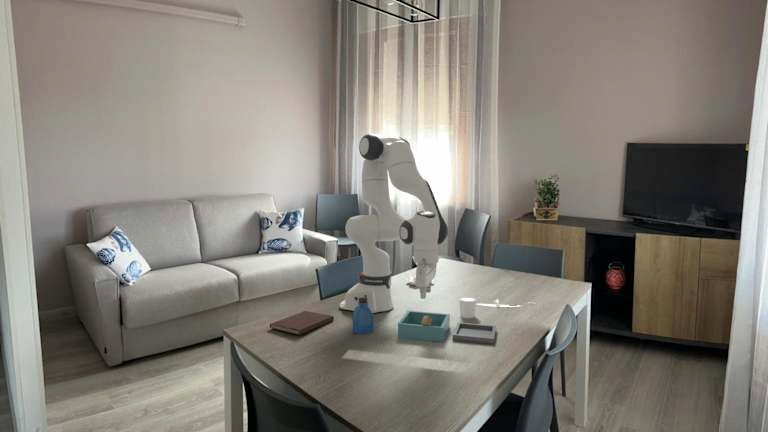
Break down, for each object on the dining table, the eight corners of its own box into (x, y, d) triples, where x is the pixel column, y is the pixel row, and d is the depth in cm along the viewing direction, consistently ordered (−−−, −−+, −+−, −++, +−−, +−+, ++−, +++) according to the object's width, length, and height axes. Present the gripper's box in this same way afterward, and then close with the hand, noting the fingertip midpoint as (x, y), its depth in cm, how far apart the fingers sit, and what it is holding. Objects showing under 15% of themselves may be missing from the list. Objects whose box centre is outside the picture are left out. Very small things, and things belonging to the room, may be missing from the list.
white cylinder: (475, 319, 201) (476, 302, 200) (458, 318, 203) (458, 300, 202) (476, 314, 208) (476, 297, 207) (459, 312, 209) (459, 296, 209)
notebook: (269, 327, 192) (269, 322, 192) (304, 314, 209) (304, 309, 208) (299, 335, 184) (299, 329, 184) (333, 320, 200) (333, 315, 200)
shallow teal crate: (397, 337, 181) (397, 323, 180) (407, 323, 196) (407, 310, 195) (442, 342, 176) (443, 327, 176) (449, 327, 192) (449, 314, 191)
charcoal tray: (452, 340, 178) (452, 334, 178) (457, 327, 192) (457, 322, 191) (493, 344, 174) (493, 338, 174) (495, 331, 188) (496, 325, 188)
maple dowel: (419, 331, 185) (421, 322, 178) (421, 323, 187) (423, 314, 179) (427, 334, 185) (430, 325, 177) (430, 326, 187) (432, 317, 179)
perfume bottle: (356, 334, 184) (356, 301, 183) (353, 328, 190) (352, 297, 188) (373, 332, 186) (373, 300, 184) (369, 327, 192) (369, 295, 190)
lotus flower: (438, 286, 253) (438, 268, 252) (431, 293, 239) (431, 275, 238) (410, 283, 258) (410, 266, 257) (401, 291, 243) (401, 273, 242)
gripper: (429, 262, 172) (429, 302, 173) (439, 253, 192) (438, 289, 193) (411, 261, 174) (411, 301, 175) (422, 252, 193) (422, 288, 195)
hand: (425, 295), depth 184 cm, fingers open, 8 cm apart
